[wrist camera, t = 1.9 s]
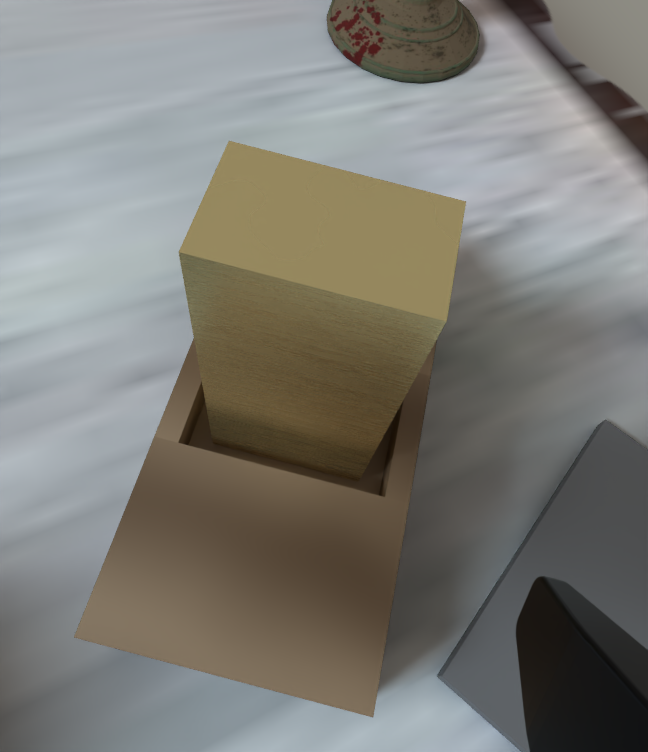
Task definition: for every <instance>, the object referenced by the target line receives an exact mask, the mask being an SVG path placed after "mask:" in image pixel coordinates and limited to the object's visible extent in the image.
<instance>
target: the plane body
mask: <svg viewBox="0 0 648 752" xmlns="http://www.w3.org/2000/svg"><path fill="white" fill-rule="evenodd" d="M436 342H437V340H436ZM436 342H435V344H434V345H433V347H432V349H431V351H430V353H429V354H428V356H427V358H426V360H425V362H424V364H423V365H422V367H421V369H420V371H419V373H418V374H417V376H416V378H415V380H414V382H413V383H412V385H411V387H410V389H409V391H408V393H407V394H406V396H405V398H404V400H403V402H402V403H401V405H400V407H399V409H398V411H397V413H396V414H395V416H394V418H393V420H392V422H391V423H390V425H389V427H388V429H387V431H386V433H385V434H384V436H383V438H382V440H381V442H380V443H379V445H378V447H377V449H376V451H375V453H374V454H373V456H372V458H371V460H370V462H369V463H368V465H367V467H366V469H365V471H364V473H363V474H362V476H361V478H360V480H359V482H357V481H353V480H349V479H346V478H342V477H338V476H334V475H330V474H327V473H323V472H319V471H315V470H311V469H308V468H304V467H300V466H296V465H292V464H289V463H285V462H281V461H277V460H273V459H270V458H266V457H262V456H258V455H254V454H250V453H247V452H243V451H239V450H235V449H231V448H228V447H224V446H220V445H216V444H213V442H212V436H211V430H210V425H209V419H208V414H207V408H206V402H205V397H204V391H203V386H202V380H201V374H200V369H199V363H198V357H197V352H196V346H195V341H194V339H193V341H192V344H191V346H190V349H189V351H188V354H187V356H186V359H185V361H184V364H183V366H182V369H181V371H180V374H179V376H178V379H177V381H176V384H175V386H174V389H173V391H172V394H171V396H170V399H169V401H168V404H167V406H166V409H165V411H164V414H163V416H162V419H161V421H160V424H159V426H158V429H157V431H156V434H155V436H154V439H153V441H152V444H151V446H150V449H149V451H148V454H147V456H146V459H145V461H144V464H143V466H142V469H141V471H140V474H139V476H138V479H137V481H136V484H135V486H134V489H133V491H132V494H131V496H130V499H129V501H128V504H127V506H126V509H125V511H124V514H123V516H122V519H121V521H120V524H119V526H118V529H117V531H116V534H115V536H114V539H113V541H112V544H111V546H110V549H109V551H108V554H107V556H106V559H105V561H104V563H103V566H102V568H101V571H100V573H99V576H98V578H97V581H96V583H95V586H94V588H93V591H92V593H91V596H90V598H89V601H88V603H87V606H86V608H85V611H84V613H83V616H82V618H81V621H80V623H79V626H78V628H77V631H76V633H75V636H74V638H78V639H82V640H85V641H89V642H93V643H97V644H100V645H104V646H108V647H112V648H115V649H119V650H123V651H127V652H130V653H134V654H138V655H142V656H145V657H149V658H153V659H157V660H160V661H164V662H168V663H172V664H175V665H179V666H183V667H187V668H190V669H194V670H198V671H201V672H205V673H209V674H213V675H216V676H220V677H224V678H228V679H231V680H235V681H239V682H243V683H246V684H250V685H254V686H258V687H261V688H265V689H269V690H273V691H276V692H280V693H284V694H288V695H291V696H295V697H299V698H303V699H306V700H310V701H314V702H317V703H321V704H325V705H329V706H332V707H336V708H340V709H344V710H347V711H351V712H355V713H359V714H362V715H366V716H370V717H373V715H374V709H375V703H376V697H377V691H378V686H379V680H380V674H381V668H382V662H383V656H384V650H385V644H386V638H387V632H388V626H389V620H390V614H391V608H392V603H393V597H394V591H395V585H396V579H397V573H398V567H399V561H400V555H401V549H402V543H403V537H404V531H405V525H406V519H407V514H408V508H409V502H410V496H411V490H412V484H413V478H414V472H415V466H416V460H417V454H418V448H419V442H420V436H421V431H422V425H423V419H424V413H425V407H426V401H427V395H428V389H429V383H430V377H431V371H432V365H433V359H434V353H435V348H436Z"/></svg>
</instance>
